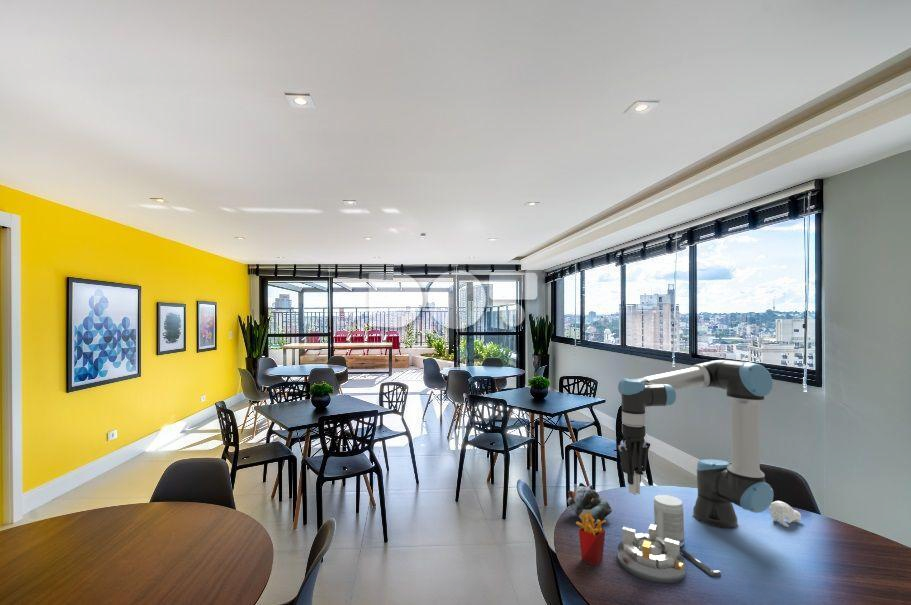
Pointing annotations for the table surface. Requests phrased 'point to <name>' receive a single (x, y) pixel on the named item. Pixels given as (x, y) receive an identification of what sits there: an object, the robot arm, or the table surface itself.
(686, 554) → the pin spanner
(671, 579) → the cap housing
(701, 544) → the table surface
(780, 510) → the white animal figurine
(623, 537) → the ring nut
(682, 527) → the supplement tub
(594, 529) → the french fries
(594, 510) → the lucky cat figurine
